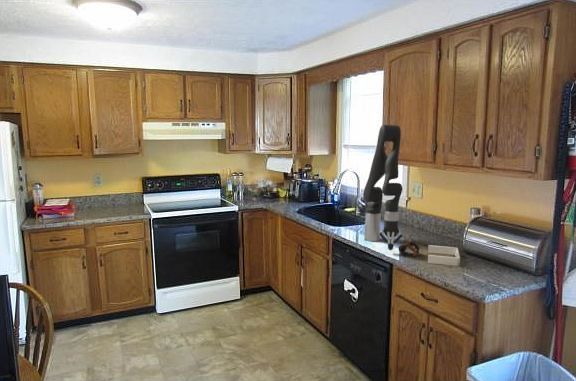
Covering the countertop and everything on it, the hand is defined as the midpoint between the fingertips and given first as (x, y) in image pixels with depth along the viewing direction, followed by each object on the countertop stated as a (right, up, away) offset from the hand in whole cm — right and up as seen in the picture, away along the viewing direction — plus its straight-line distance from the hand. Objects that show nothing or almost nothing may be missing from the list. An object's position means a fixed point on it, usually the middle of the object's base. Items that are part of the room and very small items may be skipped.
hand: (390, 249), depth 221 cm
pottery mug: (+9, -3, -1) cm, 9 cm away
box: (+25, -3, -8) cm, 27 cm away
